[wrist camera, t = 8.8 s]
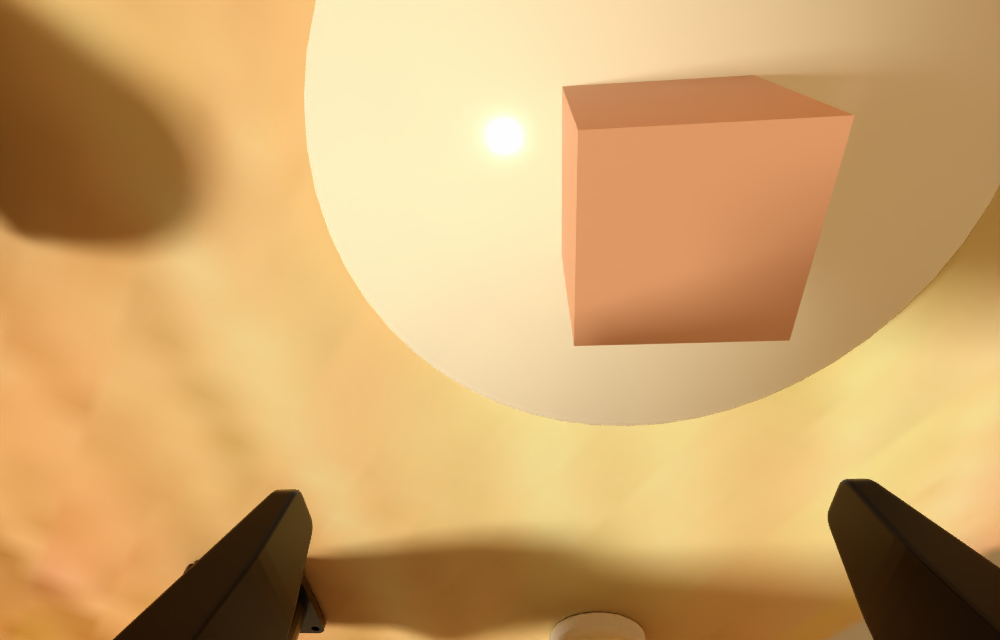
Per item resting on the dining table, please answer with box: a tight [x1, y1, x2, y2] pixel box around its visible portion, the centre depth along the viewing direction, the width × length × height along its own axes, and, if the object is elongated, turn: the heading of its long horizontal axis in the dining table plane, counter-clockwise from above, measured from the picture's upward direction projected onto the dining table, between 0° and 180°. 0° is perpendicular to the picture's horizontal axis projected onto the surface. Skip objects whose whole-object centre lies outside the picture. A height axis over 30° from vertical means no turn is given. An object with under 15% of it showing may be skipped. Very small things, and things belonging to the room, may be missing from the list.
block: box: [562, 75, 855, 346], centre depth 13 cm, size 5×5×5 cm
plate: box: [304, 0, 1000, 426], centre depth 16 cm, size 20×20×1 cm
